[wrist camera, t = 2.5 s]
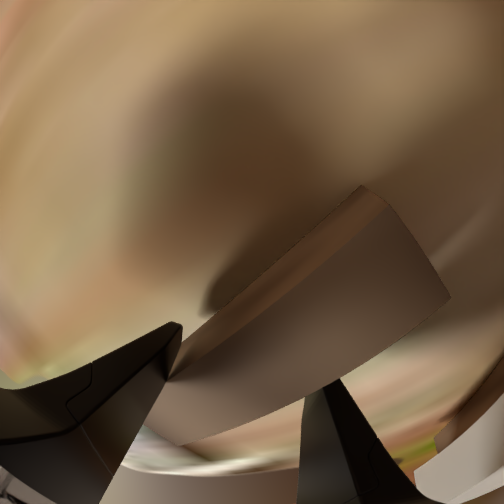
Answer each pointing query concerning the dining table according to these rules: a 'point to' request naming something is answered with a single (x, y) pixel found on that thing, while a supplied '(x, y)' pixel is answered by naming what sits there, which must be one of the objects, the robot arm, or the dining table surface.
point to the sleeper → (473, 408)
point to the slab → (467, 462)
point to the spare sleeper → (301, 323)
